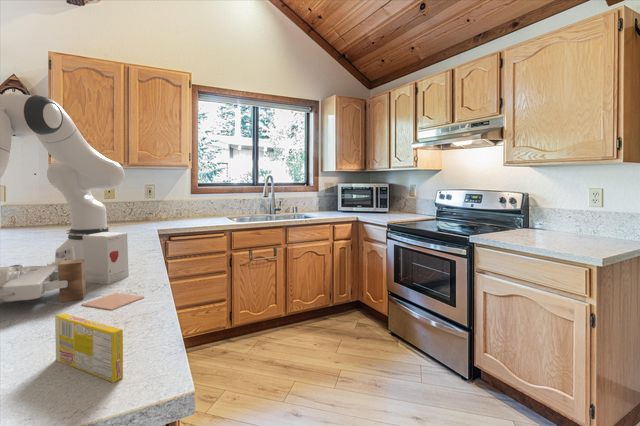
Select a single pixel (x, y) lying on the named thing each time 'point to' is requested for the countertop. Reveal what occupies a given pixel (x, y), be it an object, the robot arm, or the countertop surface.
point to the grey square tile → (57, 301)
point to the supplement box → (105, 257)
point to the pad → (113, 301)
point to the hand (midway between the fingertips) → (71, 278)
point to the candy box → (89, 346)
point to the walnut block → (72, 280)
